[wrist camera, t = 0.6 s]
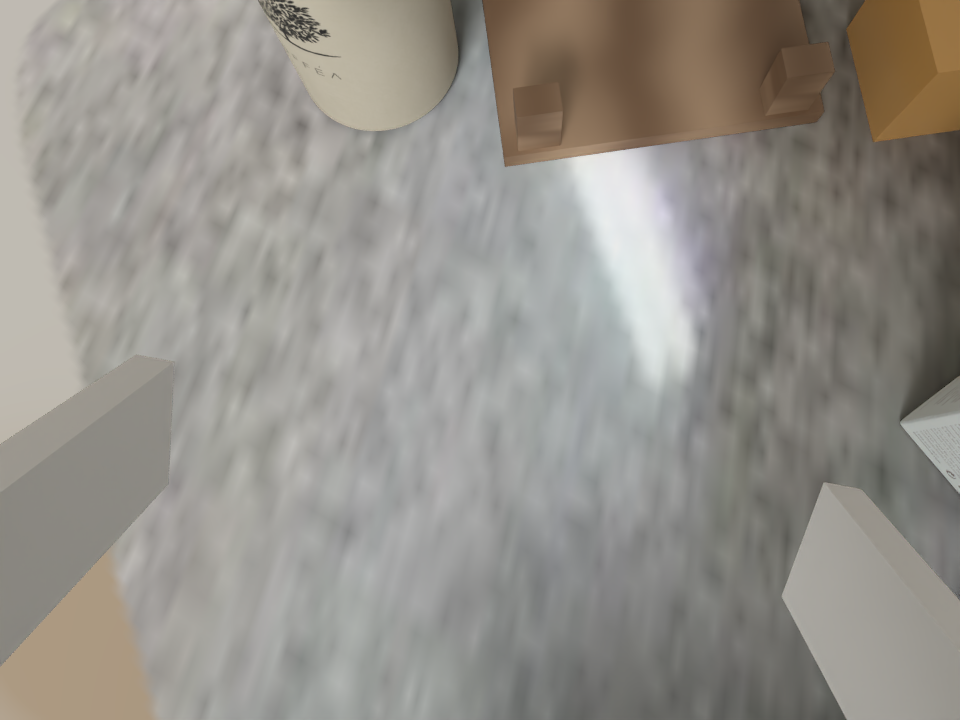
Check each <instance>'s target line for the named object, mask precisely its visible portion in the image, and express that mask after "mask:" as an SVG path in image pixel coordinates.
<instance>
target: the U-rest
mask: <svg viewBox="0 0 960 720" xmlns="http://www.w3.org/2000/svg"><path fill="white" fill-rule="evenodd" d="M482 1H483V9H484V16H485V23H486V31H487V38H488V46H489V53H490V60H491V68H492V75H493V82H494V90H495V97H496V104H497V112H498V119H499V126H500V134H501V141H502V148H503V156H504V163H505V167H506V166H513V165H520V164H527V163H534V162H541V161H548V160H555V159H562V158H569V157H576V156H583V155H590V154H597V153H604V152H611V151H618V150H625V149H632V148H639V147H646V146H653V145H660V144H667V143H674V142H681V141H688V140H695V139H702V138H709V137H716V136H723V135H730V134H737V133H744V132H751V131H758V130H765V129H772V128H779V127H786V126H793V125H800V124H807V123H814V122H817V121H818V119H819V118H820V117H821V115H822V114H823V113H824V107H823V103H822V99H821V94H820V92H821V91H822V89H823V88H824V86H825V85H826V84H827V82H828V81H829V79H830V78H831V76H832V75H833V74H834V72H835V68H834V64H833V60H832V56H831V51H830V47H829V43H828V42H823V43H816V44H810V45H809V42H808V37H807V33H806V29H805V24H804V20H803V15H802V11H801V7H800V2H799V0H482Z"/></svg>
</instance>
